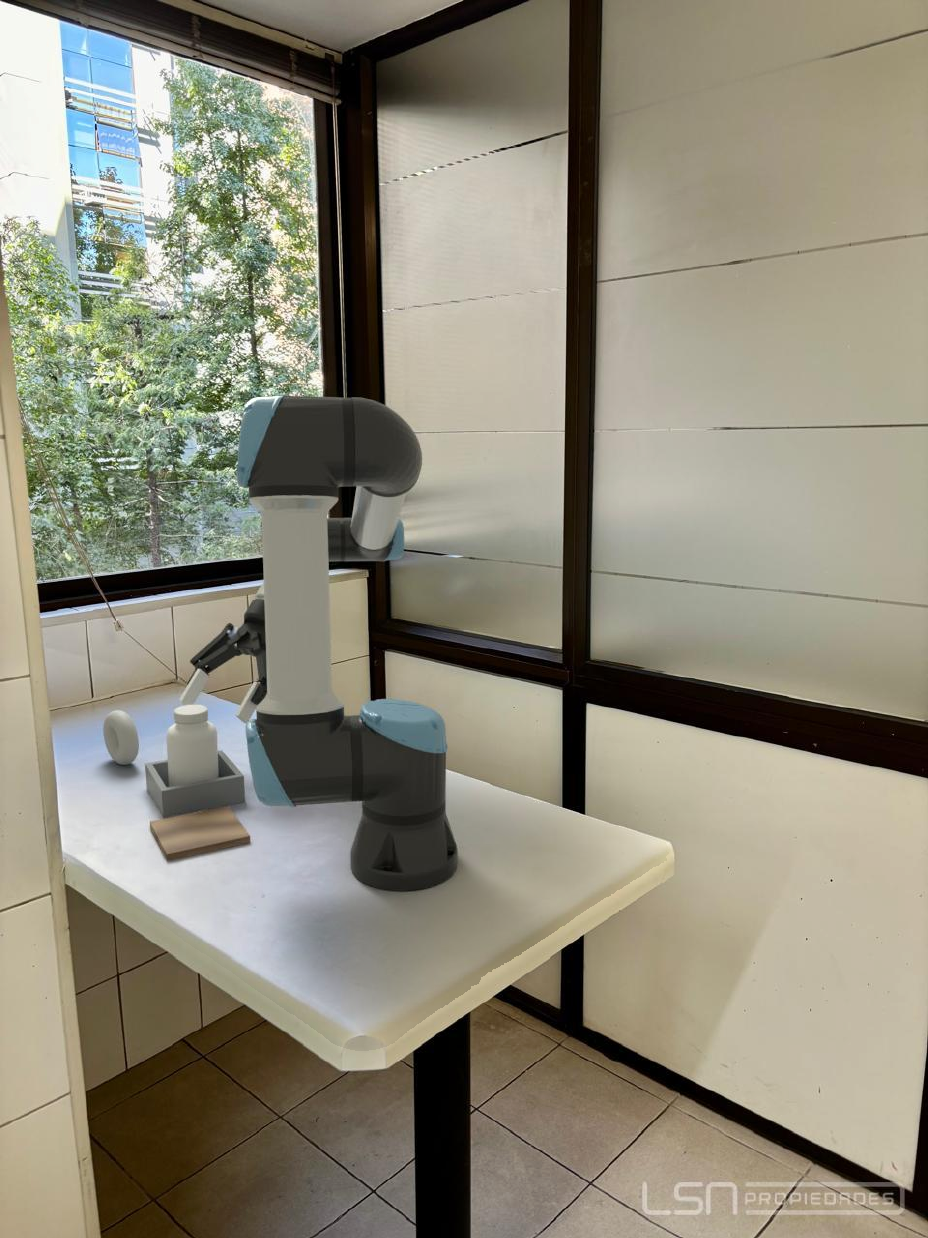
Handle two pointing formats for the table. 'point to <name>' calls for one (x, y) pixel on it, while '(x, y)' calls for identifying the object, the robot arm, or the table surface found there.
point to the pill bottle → (192, 746)
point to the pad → (198, 832)
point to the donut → (121, 737)
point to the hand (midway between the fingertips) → (212, 712)
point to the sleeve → (194, 789)
